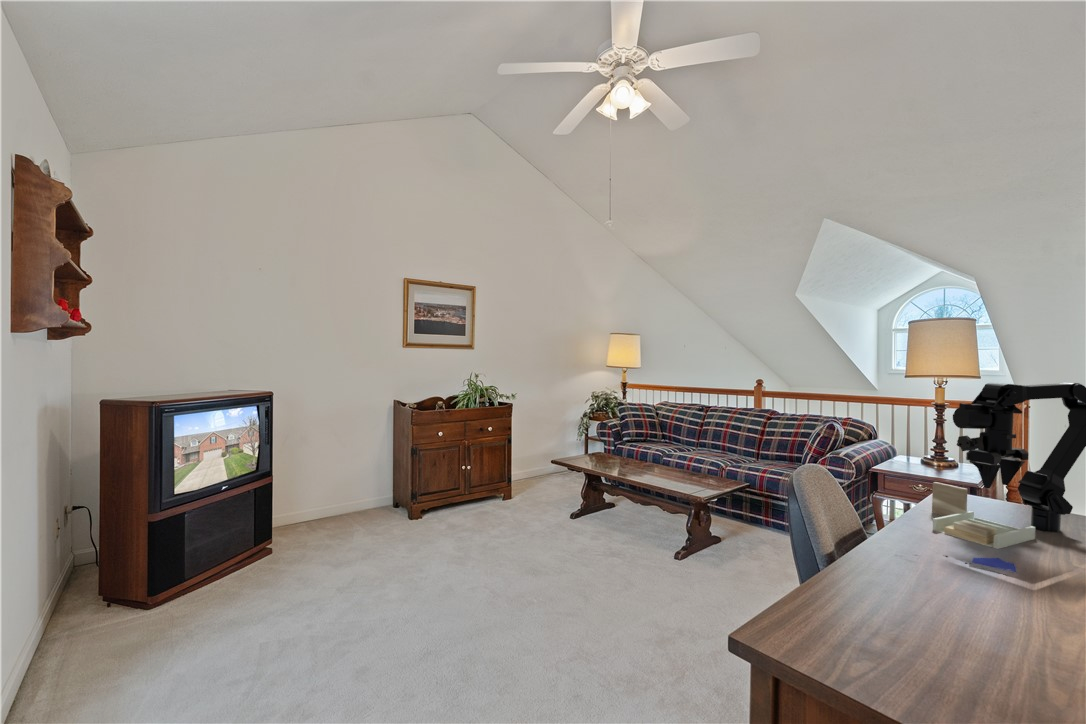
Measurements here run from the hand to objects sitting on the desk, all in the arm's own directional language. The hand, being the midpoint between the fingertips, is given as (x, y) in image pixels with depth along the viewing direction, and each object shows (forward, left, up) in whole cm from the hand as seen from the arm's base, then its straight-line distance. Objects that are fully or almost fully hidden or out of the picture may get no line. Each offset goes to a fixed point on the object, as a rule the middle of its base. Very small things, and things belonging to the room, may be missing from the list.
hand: (996, 486), depth 138 cm
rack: (+10, +2, -12) cm, 16 cm away
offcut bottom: (+16, +2, -11) cm, 20 cm away
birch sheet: (+2, -10, -12) cm, 16 cm away
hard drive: (+28, +12, -13) cm, 33 cm away
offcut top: (+15, +3, -10) cm, 18 cm away
